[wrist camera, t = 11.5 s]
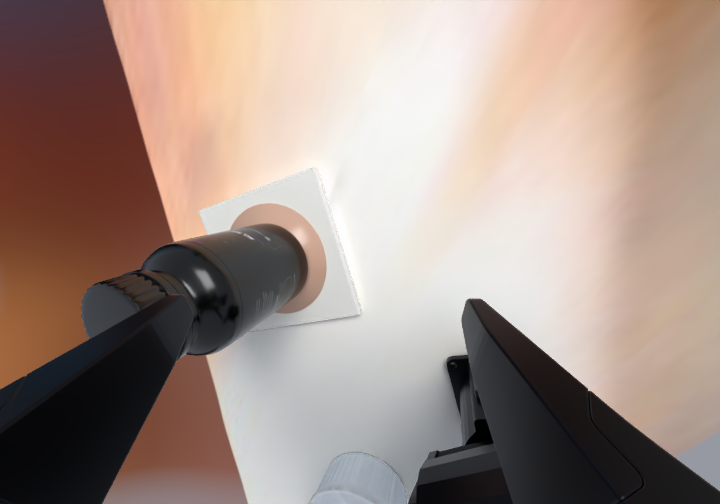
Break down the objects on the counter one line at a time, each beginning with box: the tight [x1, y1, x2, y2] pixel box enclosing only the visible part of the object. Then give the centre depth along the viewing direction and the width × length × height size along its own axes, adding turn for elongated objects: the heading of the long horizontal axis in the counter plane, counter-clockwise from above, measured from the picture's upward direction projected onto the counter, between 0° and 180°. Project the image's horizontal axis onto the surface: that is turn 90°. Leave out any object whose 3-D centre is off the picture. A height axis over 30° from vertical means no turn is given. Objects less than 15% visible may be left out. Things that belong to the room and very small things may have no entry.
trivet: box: [199, 168, 362, 332], centre depth 24 cm, size 12×12×1 cm
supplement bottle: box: [81, 223, 308, 361], centre depth 18 cm, size 7×7×12 cm
